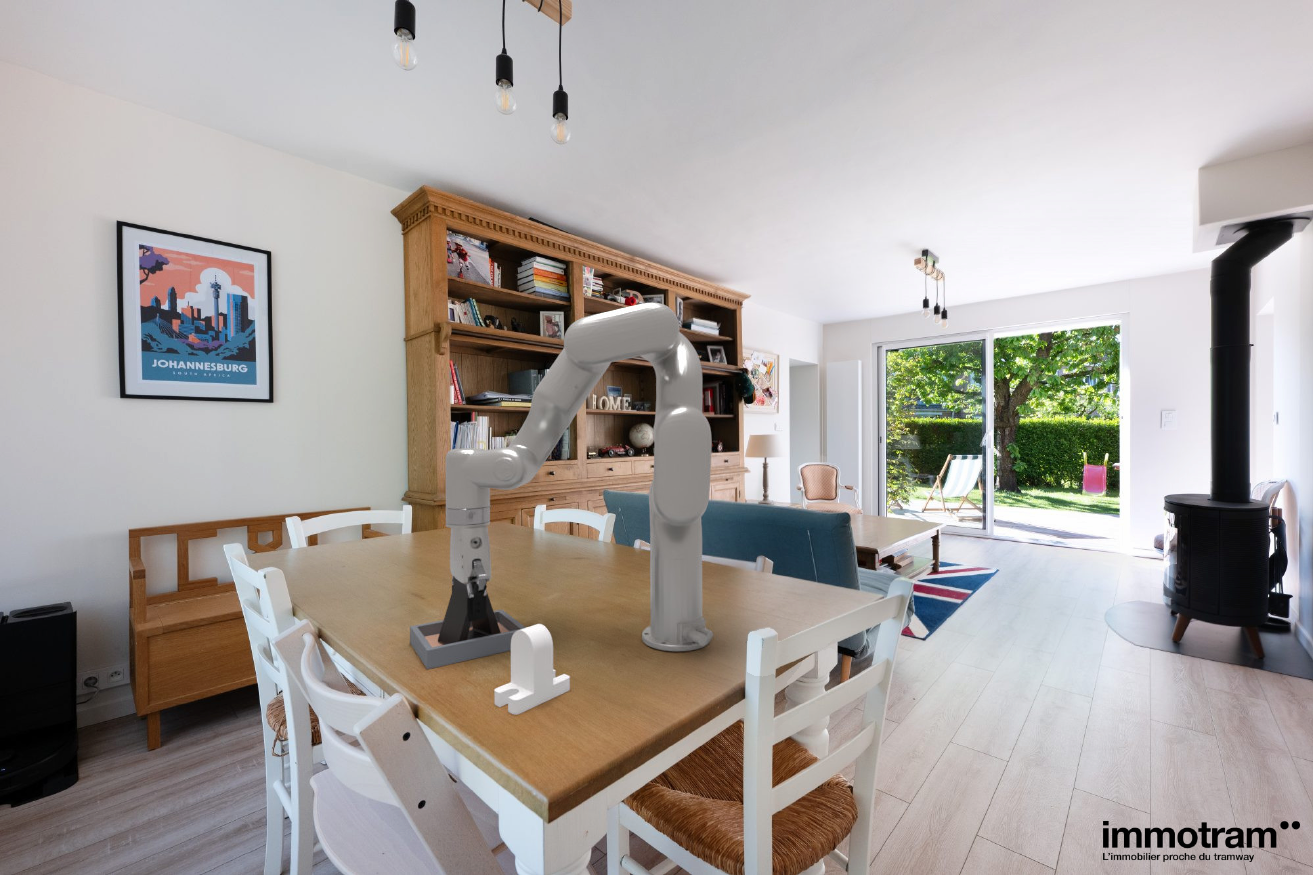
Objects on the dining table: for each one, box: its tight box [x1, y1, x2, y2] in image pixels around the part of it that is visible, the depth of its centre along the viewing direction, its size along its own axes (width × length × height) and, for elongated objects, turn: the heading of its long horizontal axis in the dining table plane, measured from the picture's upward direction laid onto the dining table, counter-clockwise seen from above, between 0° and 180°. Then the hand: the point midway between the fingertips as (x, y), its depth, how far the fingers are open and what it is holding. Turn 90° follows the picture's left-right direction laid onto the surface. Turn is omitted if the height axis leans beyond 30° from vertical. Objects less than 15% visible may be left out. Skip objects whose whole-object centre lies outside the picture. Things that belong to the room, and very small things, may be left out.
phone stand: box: [438, 575, 501, 645], centre depth 99 cm, size 9×6×12 cm, turn 142°
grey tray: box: [409, 609, 527, 670], centre depth 99 cm, size 14×17×3 cm
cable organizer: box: [493, 623, 571, 716], centre depth 79 cm, size 5×10×10 cm, turn 140°
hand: (468, 612), depth 99 cm, fingers open, 9 cm apart
